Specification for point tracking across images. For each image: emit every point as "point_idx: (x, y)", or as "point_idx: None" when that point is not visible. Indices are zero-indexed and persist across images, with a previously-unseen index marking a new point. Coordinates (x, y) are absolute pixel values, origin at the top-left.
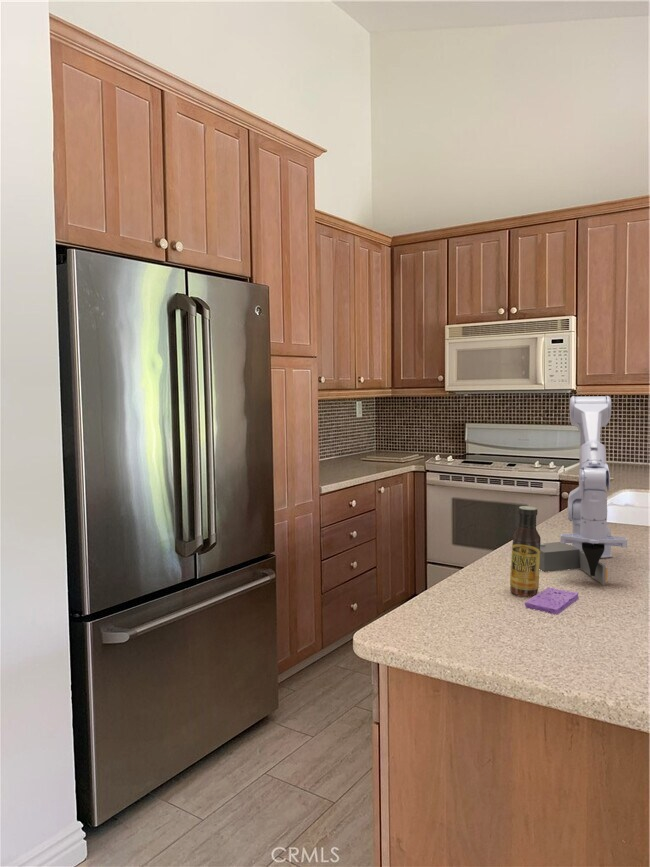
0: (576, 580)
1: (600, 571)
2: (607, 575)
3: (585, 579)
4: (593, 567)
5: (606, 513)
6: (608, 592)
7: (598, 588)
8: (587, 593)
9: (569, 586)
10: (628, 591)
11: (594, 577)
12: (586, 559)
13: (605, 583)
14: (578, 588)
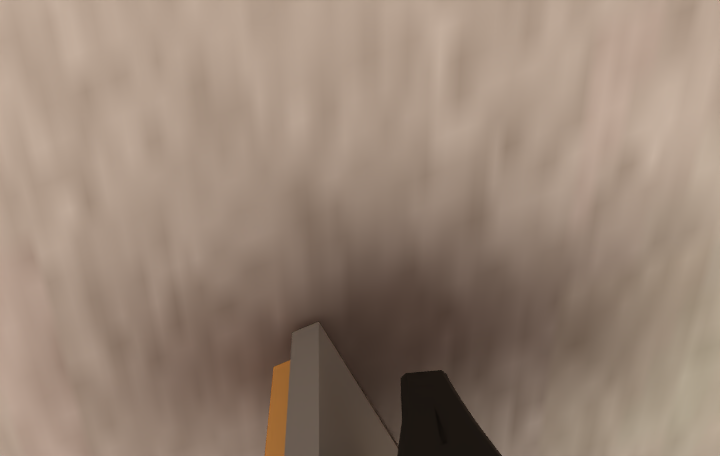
0: (541, 373)
1: (345, 446)
2: (270, 411)
3: None
4: (435, 439)
5: None
6: (247, 134)
7: (353, 227)
8: (470, 9)
9: (633, 188)
10: (62, 239)
11: (393, 448)
12: None
13: (292, 337)
14: (551, 156)
